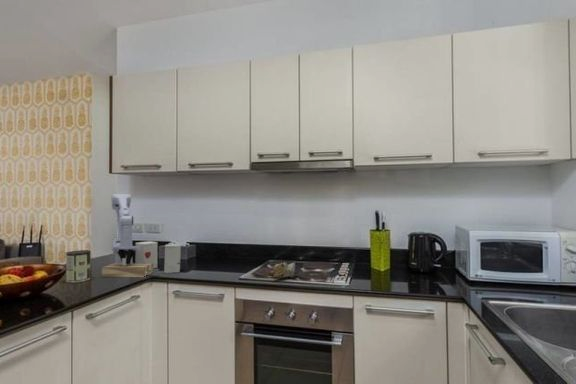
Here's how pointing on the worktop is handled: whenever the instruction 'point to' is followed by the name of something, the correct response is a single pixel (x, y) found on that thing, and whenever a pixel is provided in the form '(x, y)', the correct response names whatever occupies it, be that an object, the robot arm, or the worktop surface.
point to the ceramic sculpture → (282, 270)
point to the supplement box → (147, 253)
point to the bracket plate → (124, 262)
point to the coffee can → (78, 266)
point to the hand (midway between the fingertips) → (126, 263)
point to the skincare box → (172, 258)
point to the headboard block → (127, 270)
